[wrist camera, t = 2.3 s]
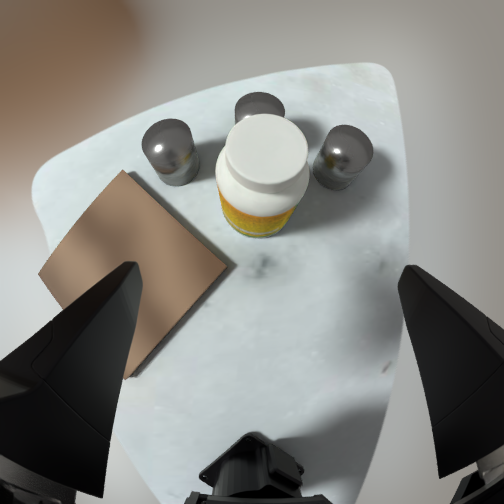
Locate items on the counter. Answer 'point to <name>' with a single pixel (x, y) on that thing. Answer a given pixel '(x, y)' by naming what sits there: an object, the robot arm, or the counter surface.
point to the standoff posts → (180, 138)
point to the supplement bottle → (262, 174)
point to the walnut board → (133, 249)
